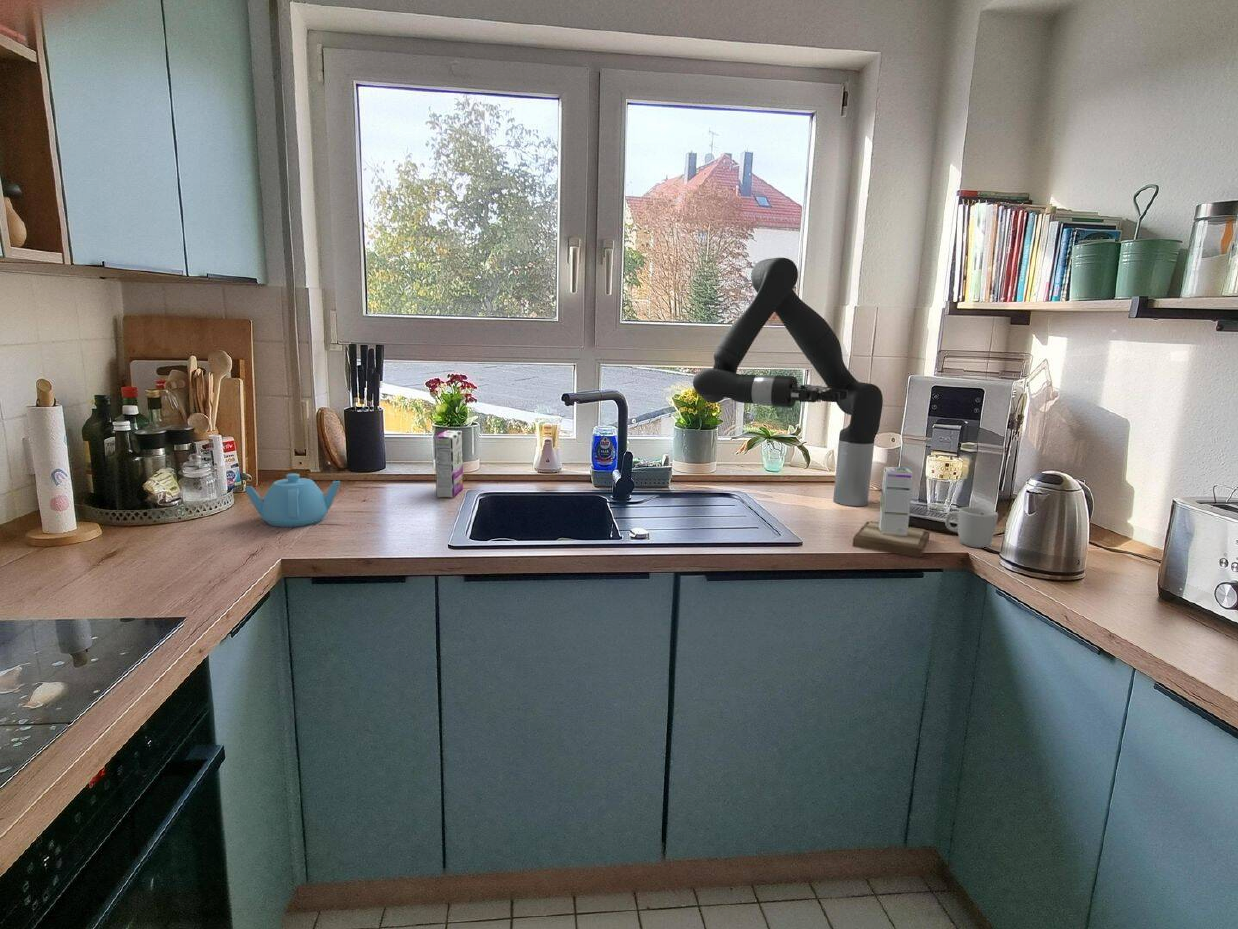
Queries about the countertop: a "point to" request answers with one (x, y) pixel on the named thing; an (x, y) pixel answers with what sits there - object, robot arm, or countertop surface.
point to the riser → (892, 540)
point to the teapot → (293, 501)
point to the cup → (974, 526)
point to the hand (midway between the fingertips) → (843, 396)
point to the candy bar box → (448, 464)
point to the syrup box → (895, 501)
